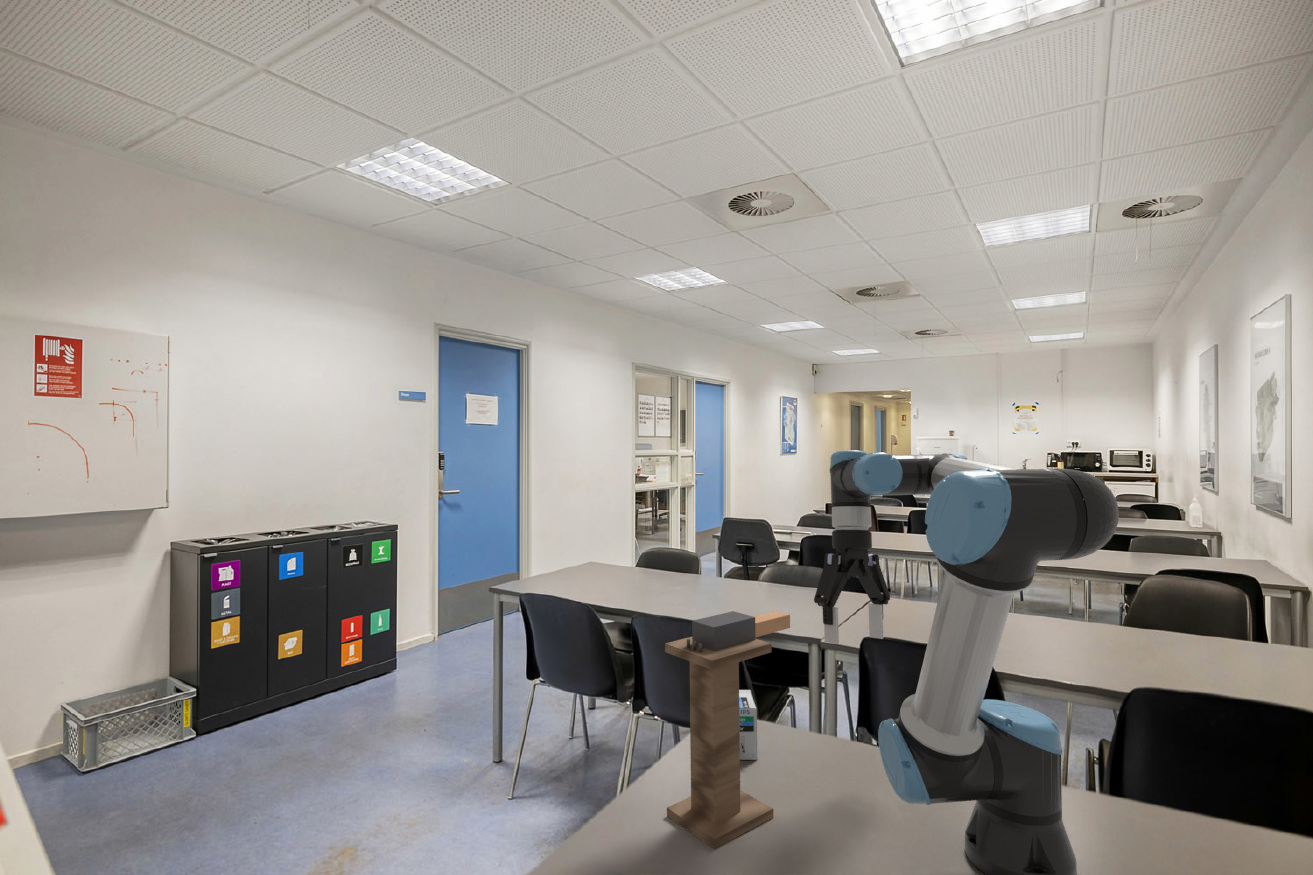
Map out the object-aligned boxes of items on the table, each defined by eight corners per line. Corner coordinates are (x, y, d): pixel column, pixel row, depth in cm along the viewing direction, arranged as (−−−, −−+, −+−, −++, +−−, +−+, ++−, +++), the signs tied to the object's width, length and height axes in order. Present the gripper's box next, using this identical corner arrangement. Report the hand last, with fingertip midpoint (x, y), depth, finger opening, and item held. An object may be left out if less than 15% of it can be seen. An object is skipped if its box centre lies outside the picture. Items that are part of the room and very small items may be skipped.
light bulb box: (758, 760, 136) (757, 707, 136) (725, 761, 136) (724, 707, 136) (752, 737, 146) (751, 688, 146) (721, 737, 146) (720, 688, 147)
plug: (794, 628, 124) (794, 607, 124) (714, 651, 111) (713, 627, 111) (772, 622, 128) (771, 602, 128) (692, 643, 116) (692, 620, 116)
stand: (773, 817, 115) (771, 635, 115) (714, 848, 106) (712, 651, 107) (724, 789, 124) (722, 621, 125) (666, 816, 116) (664, 635, 116)
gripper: (874, 530, 142) (877, 633, 139) (793, 527, 127) (795, 642, 124) (905, 530, 136) (910, 638, 133) (824, 527, 121) (827, 647, 118)
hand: (854, 640), depth 128 cm, fingers open, 13 cm apart
